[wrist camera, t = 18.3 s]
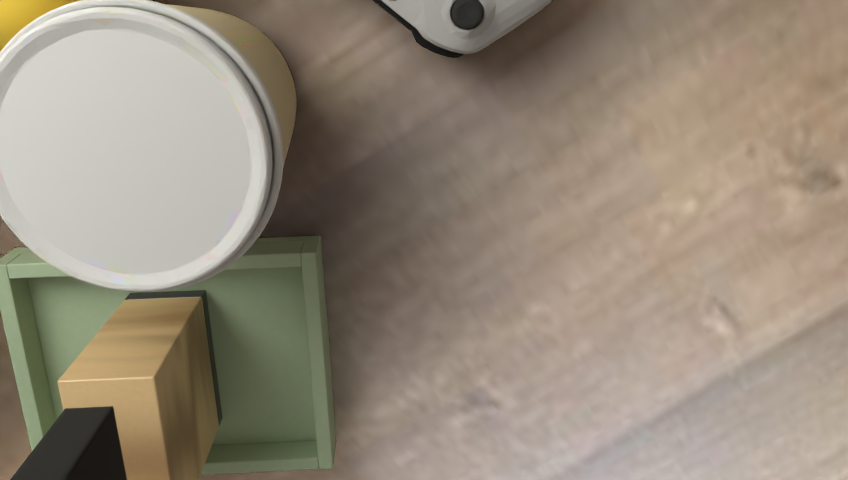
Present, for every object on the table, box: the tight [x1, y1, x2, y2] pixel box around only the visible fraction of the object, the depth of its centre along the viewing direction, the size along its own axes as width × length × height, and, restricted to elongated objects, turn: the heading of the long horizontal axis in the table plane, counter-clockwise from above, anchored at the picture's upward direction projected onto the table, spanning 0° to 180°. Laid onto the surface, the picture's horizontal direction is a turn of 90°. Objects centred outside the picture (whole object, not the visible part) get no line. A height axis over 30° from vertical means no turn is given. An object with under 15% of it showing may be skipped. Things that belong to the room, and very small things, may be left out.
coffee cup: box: [0, 0, 296, 292], centre depth 29 cm, size 9×9×12 cm
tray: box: [0, 236, 336, 475], centre depth 38 cm, size 14×11×2 cm
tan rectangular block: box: [58, 290, 222, 480], centre depth 34 cm, size 7×4×8 cm, turn 2°
